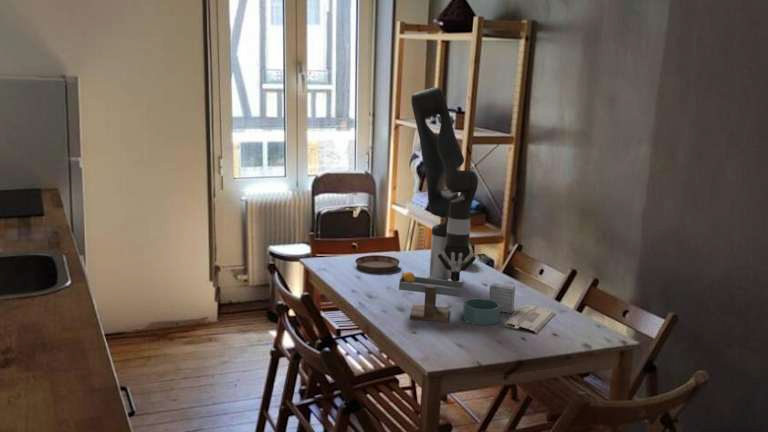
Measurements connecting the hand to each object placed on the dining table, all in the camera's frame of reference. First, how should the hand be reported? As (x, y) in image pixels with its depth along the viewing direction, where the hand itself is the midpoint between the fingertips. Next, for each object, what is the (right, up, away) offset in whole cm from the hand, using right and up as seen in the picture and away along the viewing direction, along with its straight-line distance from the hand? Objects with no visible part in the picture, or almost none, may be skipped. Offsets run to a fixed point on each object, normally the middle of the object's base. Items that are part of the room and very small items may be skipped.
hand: (455, 282), depth 235 cm
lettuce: (+6, +2, +58) cm, 59 cm away
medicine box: (+16, -10, +2) cm, 19 cm away
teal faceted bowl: (+8, -11, -7) cm, 15 cm away
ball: (-16, +2, -7) cm, 17 cm away
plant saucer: (-26, +1, +47) cm, 54 cm away
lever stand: (-9, -10, -5) cm, 14 cm away
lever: (-8, -3, -3) cm, 9 cm away
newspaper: (+23, -12, -6) cm, 27 cm away
